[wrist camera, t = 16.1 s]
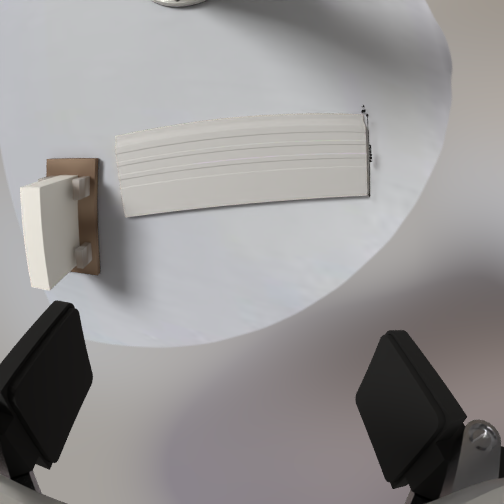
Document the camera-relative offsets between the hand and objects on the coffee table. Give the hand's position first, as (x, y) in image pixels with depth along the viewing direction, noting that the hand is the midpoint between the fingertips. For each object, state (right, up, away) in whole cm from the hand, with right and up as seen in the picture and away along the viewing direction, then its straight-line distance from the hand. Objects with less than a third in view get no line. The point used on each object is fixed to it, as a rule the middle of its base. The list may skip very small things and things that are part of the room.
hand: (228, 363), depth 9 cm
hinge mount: (-24, +8, +28) cm, 38 cm away
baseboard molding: (-1, +15, +28) cm, 32 cm away
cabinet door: (-24, +8, +27) cm, 37 cm away
